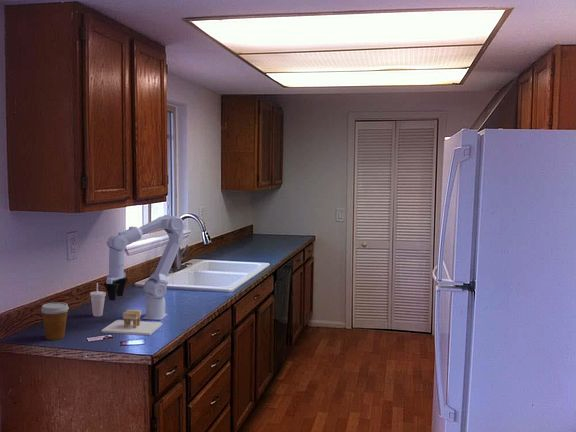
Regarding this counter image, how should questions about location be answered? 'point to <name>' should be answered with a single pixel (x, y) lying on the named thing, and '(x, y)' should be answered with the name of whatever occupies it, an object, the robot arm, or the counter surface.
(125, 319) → the stool
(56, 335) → the disposable coffee cup
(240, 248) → the counter surface
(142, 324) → the cutting board
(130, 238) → the robot arm
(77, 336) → the counter surface
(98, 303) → the smoothie
